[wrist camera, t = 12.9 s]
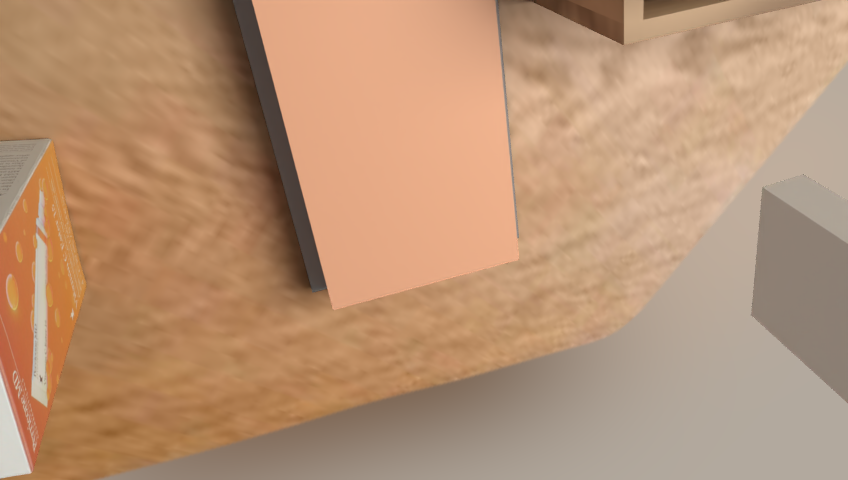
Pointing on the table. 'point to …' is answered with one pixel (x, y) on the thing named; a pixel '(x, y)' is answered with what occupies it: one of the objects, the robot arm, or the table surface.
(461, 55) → the lid
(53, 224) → the small box
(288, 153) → the felt mat
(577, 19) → the pencil box
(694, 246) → the table surface
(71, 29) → the table surface
